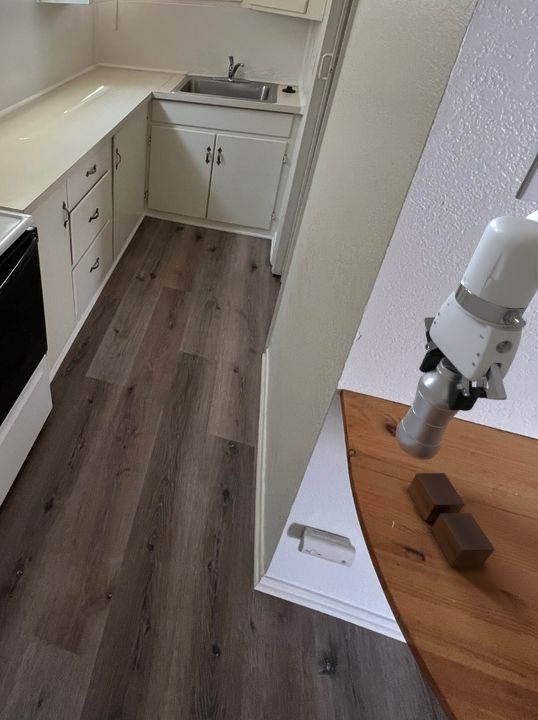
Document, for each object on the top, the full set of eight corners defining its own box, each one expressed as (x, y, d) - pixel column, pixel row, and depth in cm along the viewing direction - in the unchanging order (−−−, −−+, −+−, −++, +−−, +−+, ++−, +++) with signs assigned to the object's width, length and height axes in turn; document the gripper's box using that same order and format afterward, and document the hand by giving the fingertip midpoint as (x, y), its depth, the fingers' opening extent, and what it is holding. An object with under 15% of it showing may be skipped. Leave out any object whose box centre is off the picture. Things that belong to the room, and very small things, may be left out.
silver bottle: (443, 457, 73) (491, 375, 64) (416, 471, 71) (461, 388, 62) (409, 425, 79) (449, 345, 70) (383, 437, 76) (420, 356, 67)
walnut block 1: (434, 489, 73) (444, 472, 71) (453, 520, 69) (465, 504, 67) (407, 490, 73) (416, 473, 71) (424, 521, 69) (435, 504, 66)
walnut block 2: (459, 529, 68) (470, 512, 66) (481, 566, 63) (495, 549, 61) (429, 530, 68) (440, 513, 65) (450, 566, 63) (462, 550, 61)
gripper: (572, 347, 52) (509, 440, 61) (469, 265, 68) (430, 347, 76) (513, 348, 52) (458, 440, 60) (423, 264, 67) (389, 348, 76)
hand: (443, 388), depth 68 cm, fingers closed on silver bottle, 6 cm apart
